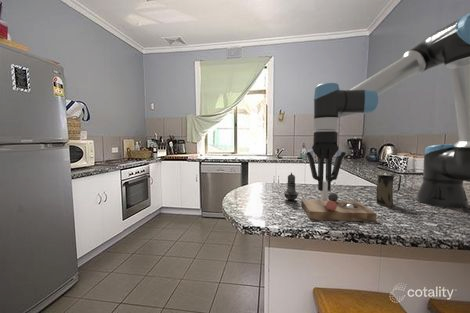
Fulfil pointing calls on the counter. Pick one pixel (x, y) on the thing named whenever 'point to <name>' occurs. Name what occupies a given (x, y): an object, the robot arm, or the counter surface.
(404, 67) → the robot arm
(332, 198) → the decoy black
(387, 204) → the mug
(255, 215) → the counter surface
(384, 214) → the counter surface
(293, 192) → the salt shaker
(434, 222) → the counter surface
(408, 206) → the counter surface
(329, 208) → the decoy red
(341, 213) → the wooden board
